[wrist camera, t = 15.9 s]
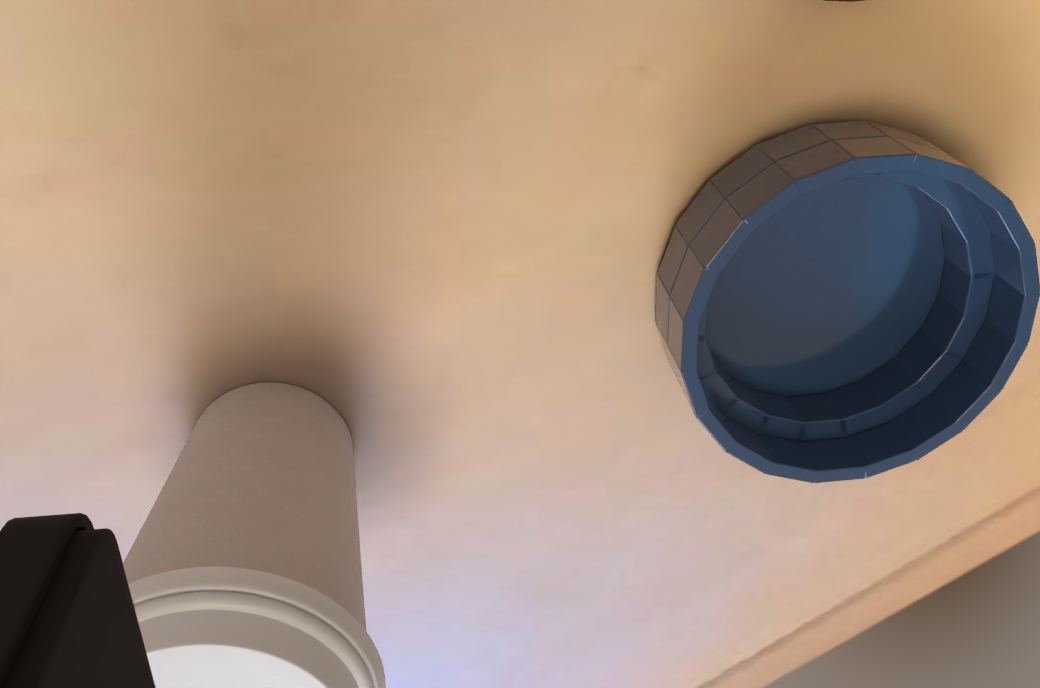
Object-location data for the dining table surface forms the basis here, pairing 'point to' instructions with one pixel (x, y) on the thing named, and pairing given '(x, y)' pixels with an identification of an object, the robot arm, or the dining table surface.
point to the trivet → (844, 0)
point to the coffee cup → (256, 552)
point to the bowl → (844, 301)
